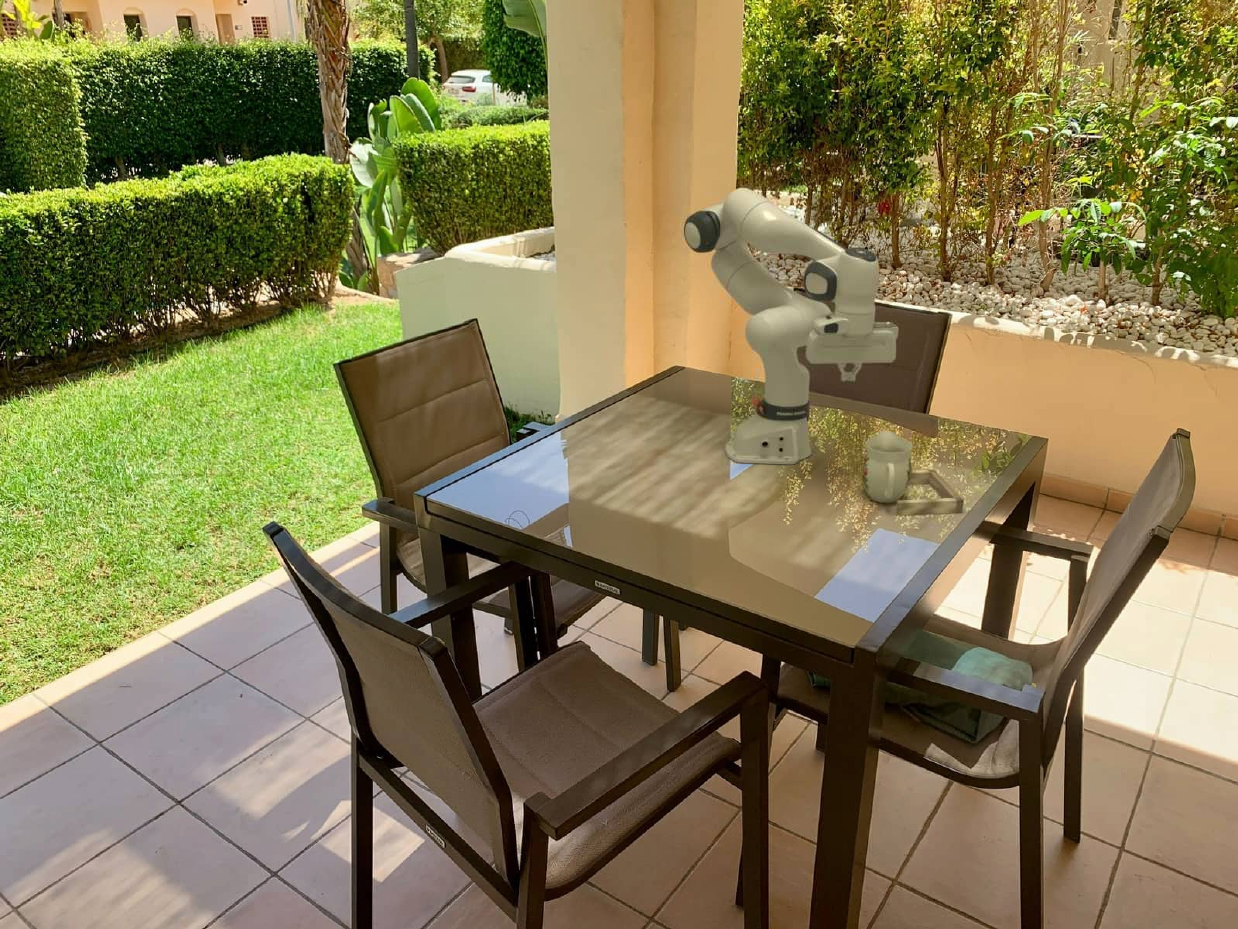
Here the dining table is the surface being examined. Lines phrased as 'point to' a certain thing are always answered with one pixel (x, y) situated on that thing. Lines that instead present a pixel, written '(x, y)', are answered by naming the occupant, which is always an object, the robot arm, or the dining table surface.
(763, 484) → the dining table surface
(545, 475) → the dining table surface
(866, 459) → the pitcher
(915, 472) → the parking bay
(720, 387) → the dining table surface
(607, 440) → the dining table surface
